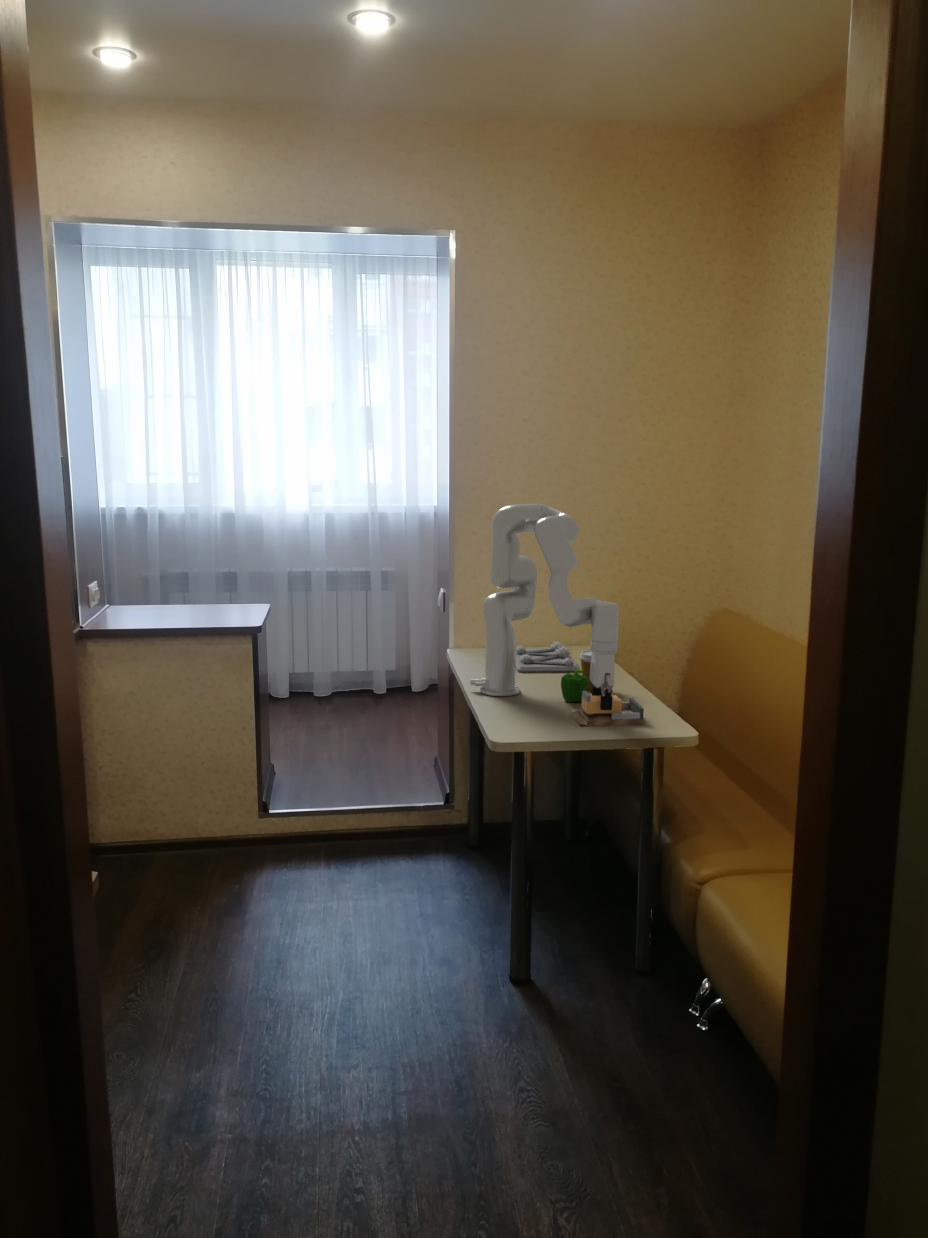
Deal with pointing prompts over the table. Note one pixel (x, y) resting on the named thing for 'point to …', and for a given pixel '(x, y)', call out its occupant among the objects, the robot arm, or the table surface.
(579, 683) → the bell pepper
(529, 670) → the decorative plate
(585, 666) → the disposable coffee cup
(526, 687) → the table surface
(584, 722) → the loading dock
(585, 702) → the orange block
